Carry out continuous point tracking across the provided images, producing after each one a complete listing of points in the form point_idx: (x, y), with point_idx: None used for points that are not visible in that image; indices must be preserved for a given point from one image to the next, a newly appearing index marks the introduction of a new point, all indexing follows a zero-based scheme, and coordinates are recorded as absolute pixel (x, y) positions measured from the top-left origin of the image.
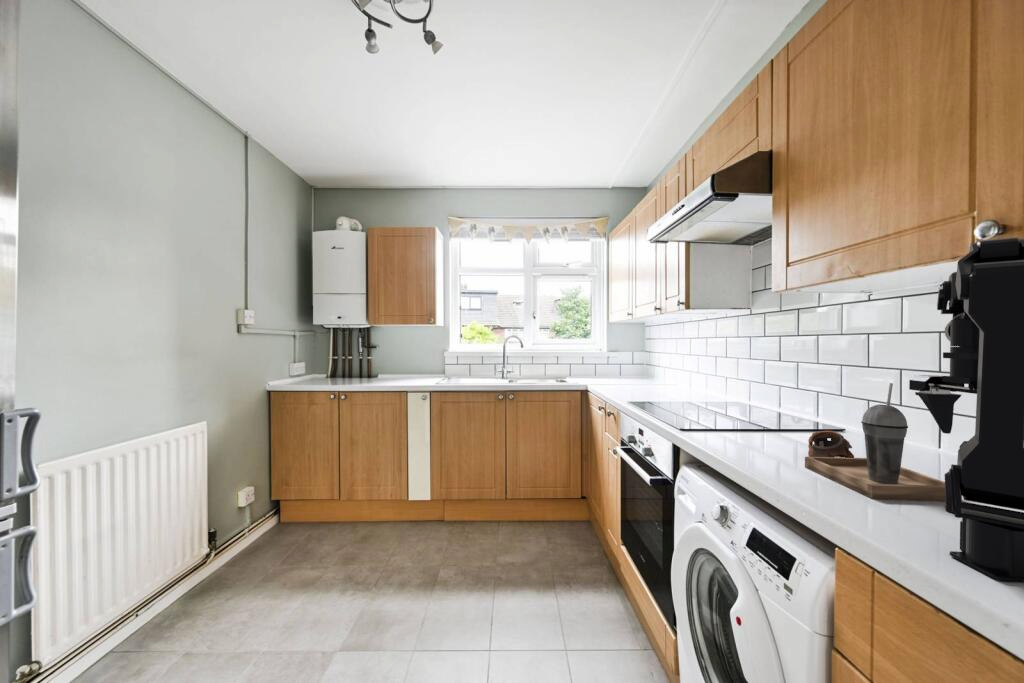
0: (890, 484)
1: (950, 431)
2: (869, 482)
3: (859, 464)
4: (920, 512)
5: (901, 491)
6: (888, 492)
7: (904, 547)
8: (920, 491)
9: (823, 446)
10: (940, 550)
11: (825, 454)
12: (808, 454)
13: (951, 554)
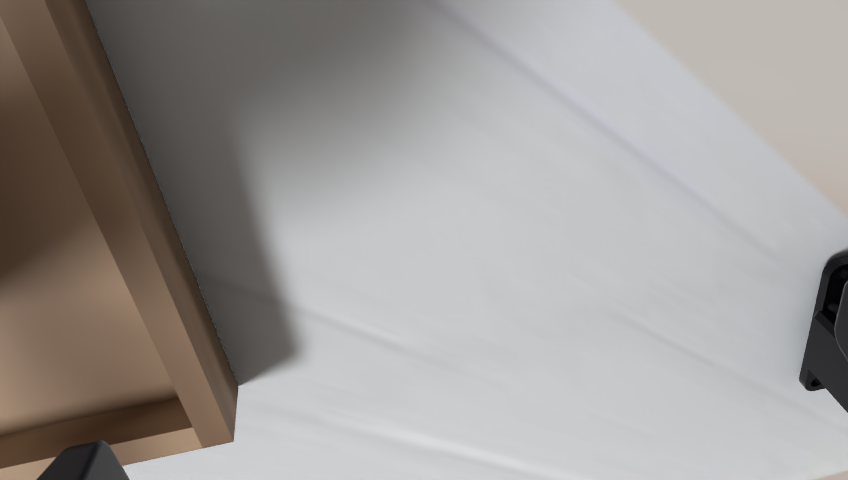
0: (162, 355)
1: (95, 459)
2: (170, 434)
3: None
4: (387, 270)
5: (184, 296)
6: (210, 348)
7: (736, 454)
8: (144, 200)
9: None
10: (759, 381)
11: None
12: None
13: (814, 388)
